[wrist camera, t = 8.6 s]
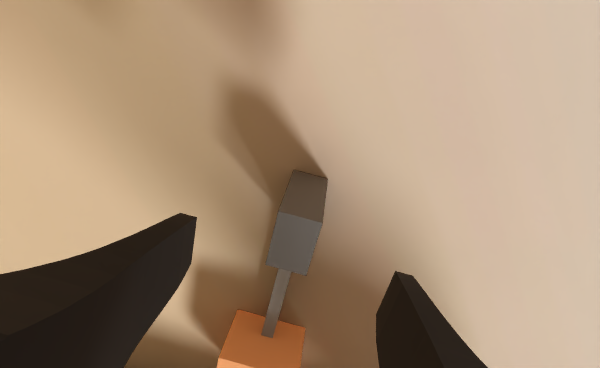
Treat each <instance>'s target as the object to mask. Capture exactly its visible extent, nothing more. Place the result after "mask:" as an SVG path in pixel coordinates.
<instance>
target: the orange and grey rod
mask: <svg viewBox="0 0 600 368" xmlns="http://www.w3.org/2000/svg"><path fill="white" fill-rule="evenodd" d="M327 181H328V179H326V178H322V177H319V176H315V175H311V174H307V173H304V172H300V171H296V170H294V171H293V174H292V176H291V179H290V181H289V184H288V187H287V189H286V192H285V195H284V197H283V200H282V203H281V205H280V208H279V211H278V214H277V219H276V223H275V227H274V231H273V235H272V239H271V244H270V248H269V252H268V256H267V260H266V264H265V265H268V266H272V267H276V268H279V269H278V272H277V276H276V280H275V284H274V288H273V291H272V295H271V299H270V303H269V307H268V310H267V314H266V317H264V316H260V315H256V314H253V313H249V312H245V311H242V310H237V312H236V315H235V317H234V320H233V322H232V325H231V328H230V330H229V333H228V335H227V338H226V340H225V343H224V345H223V348H222V351H221V353H220V356H219V359H218V364H217V368H300V365H301V357H302V350H303V343H304V335H305V328H304V327H300V326H297V325H293V324H289V323H286V322H282V321H278V317H279V314H280V310H281V307H282V303H283V300H284V296H285V293H286V289H287V286H288V282H289V279H290V275H291V272H294V273H298V274H301V275H305V276H306V275H307V272H308V268H309V265H310V262H311V259H312V255H313V252H314V249H315V246H316V242H317V239H318V236H319V233H320V229H321V226H322V223H323V215H324V206H325V198H326V190H327Z"/></svg>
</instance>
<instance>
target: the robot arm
mask: <svg viewBox="0 0 600 368" xmlns="http://www.w3.org/2000/svg"><path fill="white" fill-rule="evenodd" d="M196 220H197V217H193V216H190V215H186V214H182V213H179V214H177V215H174V216H172V217H170V218H168V219H166V220H164V221H162V222H159V223H157V224H155V225H153V226H151V227H149V228H147V229H144V230H142V231H140V232H138V233H136V234H133V235H131V236H129V237H126V238H124V239H121V240H119V241H116V242H114V243H111V244H109V245H106V246H104V247H101V248H99V249H96V250H93V251H90V252H87V253H84V254H81V255H77V256H74V257H71V258H68V259H64V260H61V261H57V262H53V263H49V264H45V265H41V266H37V267H33V268H29V269H24V270H20V271H15V272H10V273H5V274H0V368H124V366H125V364H126V363H127V361H128V359H129V357H130V356H131V354H132V352H133V351H134V349H135V348H136V346H137V345H138V343H139V342H140V340H141V339H142V337H143V336H144V335H145V333H146V332H147V331H148V329H149V328H150V326H151V325H152V324H153V322H154V321H155V319H156V318H157V317H158V315H159V314H160V312H161V311H162V310H163V308H164V307H165V306H166V304H167V303H168V301H169V300H170V298H171V297H172V296H173V294H174V293H175V291H176V290H177V288H178V287H179V285H180V283H181V282H182V280H183V278H184V276H185V274H186V272H187V270H188V268H189V266H190V265H191V260H192V252H193V244H194V236H195V228H196ZM376 343H377V352H378V360H379V368H488V367H487V366H486V365H485V364H484V363H483V362H482V361H481V360H480V359H479V358H478V357H477V356H476V355H475V354H474V353H473V351H472V350H471V349H470V348H469V347H468V346H467V345H466V343H465V342H464V341H463V340H462V339H461V338H460V336H459V335H458V334H457V333H456V332H455V330H454V329H453V328H452V327H451V325H450V324H449V323H448V322H447V320H446V319H445V318H444V316H443V315H442V314H441V313H440V311H439V310H438V309H437V307H436V306H435V305H434V303H433V302H432V301H431V299H430V298H429V297H428V295H427V294H426V293H425V291H424V290H423V289H422V287H421V286H420V285H419V283H418V282H417V281H416V279H415V278H414V277H413V276H412V275H408V274H404V273H400V272H397V271H395V273H394V275H393V278H392V280H391V282H390V284H389V287H388V289H387V291H386V293H385V296H384V298H383V300H382V303H381V305H380V307H379V309H378V312H377V314H376Z"/></svg>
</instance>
